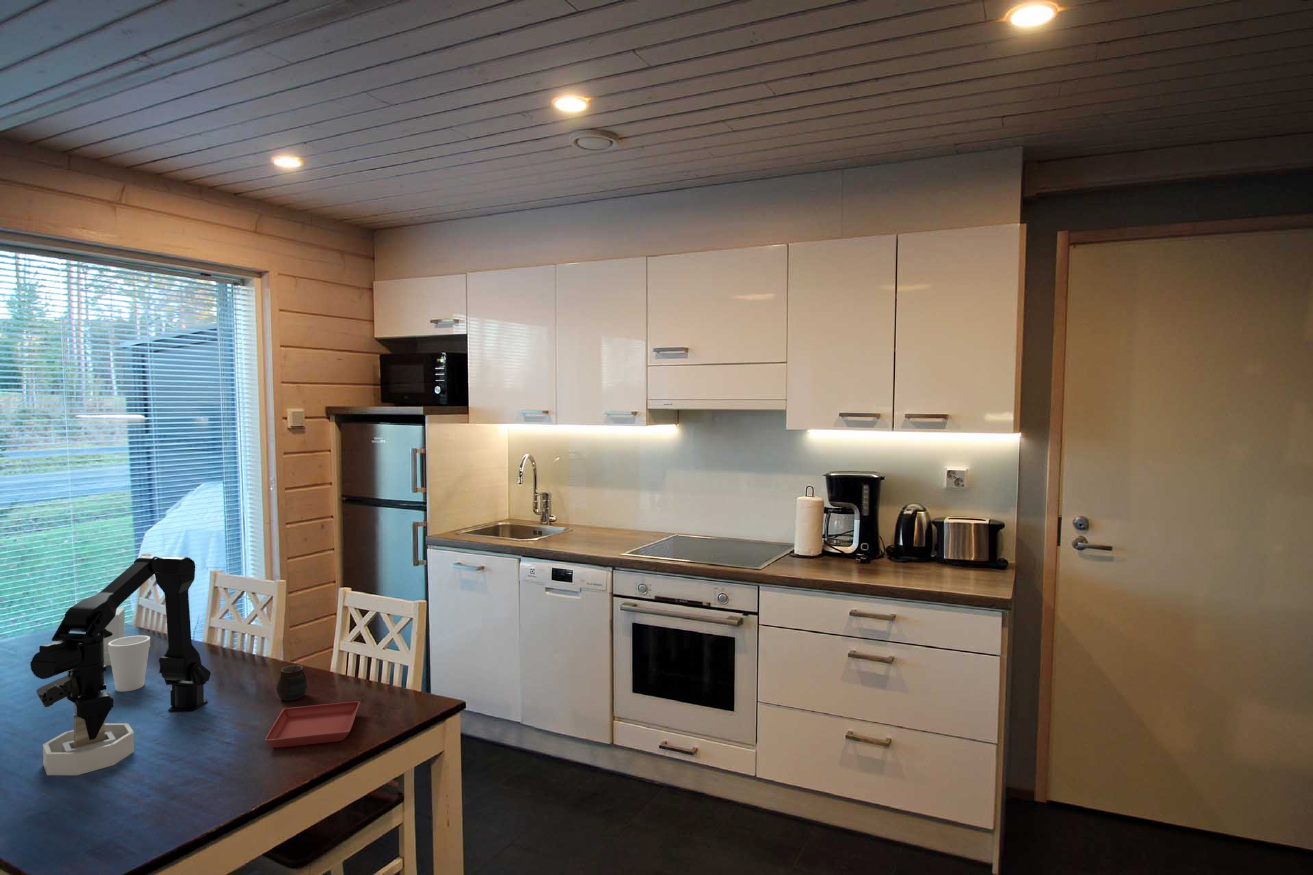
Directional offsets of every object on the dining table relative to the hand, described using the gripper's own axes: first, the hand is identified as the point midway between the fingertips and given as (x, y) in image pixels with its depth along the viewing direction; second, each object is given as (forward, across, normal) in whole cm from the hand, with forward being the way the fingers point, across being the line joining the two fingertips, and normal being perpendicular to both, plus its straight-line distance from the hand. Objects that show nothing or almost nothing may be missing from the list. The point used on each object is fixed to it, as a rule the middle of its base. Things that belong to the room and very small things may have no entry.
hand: (88, 732), depth 158 cm
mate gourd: (+6, -4, +44) cm, 45 cm away
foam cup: (+6, -43, +15) cm, 46 cm away
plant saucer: (+6, +20, +40) cm, 46 cm away
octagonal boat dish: (+6, 0, 0) cm, 6 cm away
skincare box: (+6, -72, +15) cm, 73 cm away
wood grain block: (+5, 0, 0) cm, 5 cm away
